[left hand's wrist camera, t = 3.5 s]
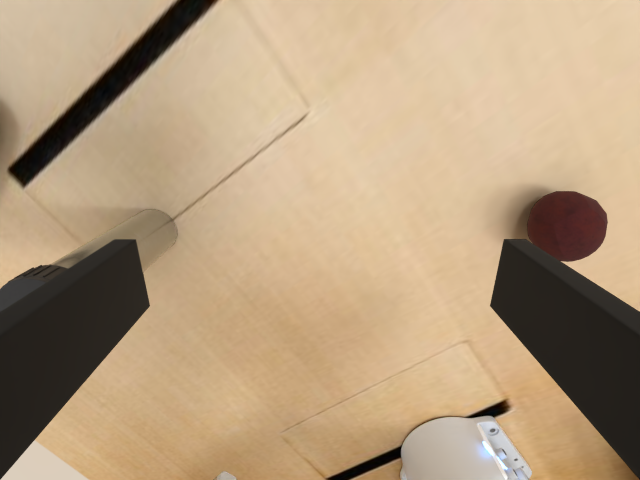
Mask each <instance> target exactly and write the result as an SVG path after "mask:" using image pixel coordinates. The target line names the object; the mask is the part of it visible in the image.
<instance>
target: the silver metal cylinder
mask: <svg viewBox="0 0 640 480" xmlns="http://www.w3.org/2000/svg"><path fill="white" fill-rule="evenodd" d="M114 239H136V242H137V246H138V251H139V256H140V261H141V266H142V271H143V272H144V271H145V270H146V269H147V268H149V267H150V266H151V265H152V264H153V263H154V262H155V261H156V260H157V259H158V258H159V257H160V256H161V255H163V254H164V253H165V252H166V251H167V250H168V249H169V248H170V247H171V246H172V245H173V244H174V243H175V241H176V239H177V228H176V225H175V223H174V222H173V220H172V219H171V218H170V217H169V216H168V215H167V214H165V213H164V212H161V211H159V210H154V209H148V210H144V211H142V212H140V213H138V214H136V215H135V216H133V217H131V218H130V219H128V220H126V221H124V222H123V223H121V224H119V225H117V226H116V227H114V228H112V229H111V230H109V231H107V232H105V233H104V234H102V235H100V236H98V237H97V238H95V239H93V240H91V241H90V242H88V243H86V244H85V245H83V246H81V247H79V248H78V249H76V250H74V251H72V252H71V253H69V254H67V255H66V256H64V257H62V258H60V259H59V260H57V261H55V262H53V263H52V264H50V265H57V266H62V267H65V268H70V267H72V266H73V265H75V264H76V263H78V262H79V261H81V260H83V259H84V258H86V257H87V256H89V255H90V254H92V253H94V252H95V251H97V250H98V249H100V248H101V247H103V246H105V245H106V244H108V243H109V242H111V241H112V240H114Z"/></svg>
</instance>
